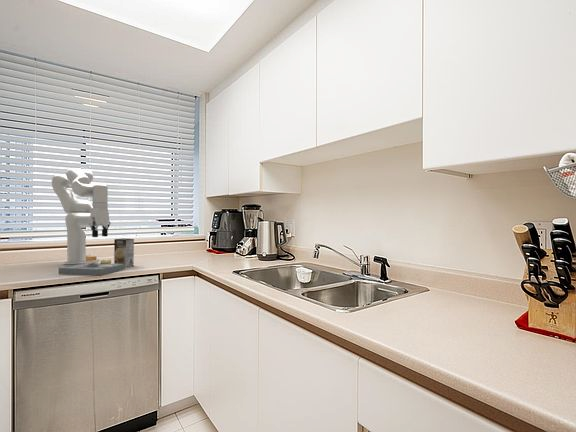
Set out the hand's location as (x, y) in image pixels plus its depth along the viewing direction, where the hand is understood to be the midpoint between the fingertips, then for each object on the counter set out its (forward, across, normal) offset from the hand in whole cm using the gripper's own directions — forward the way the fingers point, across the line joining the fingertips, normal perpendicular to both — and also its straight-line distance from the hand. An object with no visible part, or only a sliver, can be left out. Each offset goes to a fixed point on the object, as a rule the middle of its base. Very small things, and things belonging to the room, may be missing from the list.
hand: (100, 236), depth 179 cm
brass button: (+13, +13, +15) cm, 24 cm away
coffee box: (+18, -6, +10) cm, 22 cm away
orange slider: (+15, +6, 0) cm, 16 cm away
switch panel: (+18, +14, +8) cm, 23 cm away
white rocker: (+13, +13, +7) cm, 20 cm away
